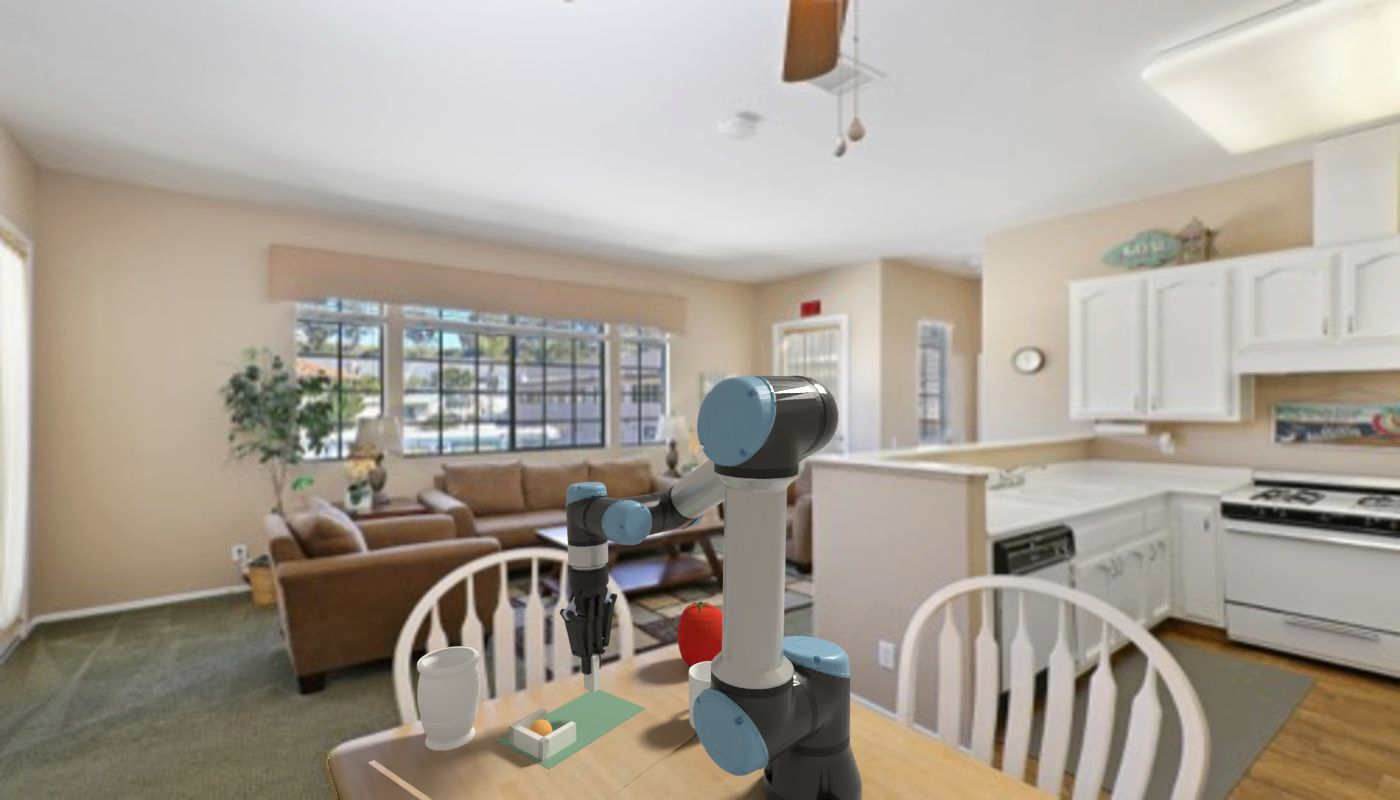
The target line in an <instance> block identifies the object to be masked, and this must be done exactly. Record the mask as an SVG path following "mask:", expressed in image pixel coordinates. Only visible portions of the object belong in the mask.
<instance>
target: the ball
mask: <svg viewBox="0 0 1400 800" xmlns="http://www.w3.org/2000/svg"><path fill="white" fill-rule="evenodd" d="M529 730H531V731H533V732H535V733H537V734H539V735H541V736H543V737H545V736H546V735H548V734H550V733H552V727H551V725H550V723H549V722H548V721H546V720H542V719H541V720H537V721H535V722H534V723H533V724H532V725H531V727H530V729H529Z"/></svg>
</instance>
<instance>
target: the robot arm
mask: <svg viewBox="0 0 1400 800" xmlns="http://www.w3.org/2000/svg"><path fill="white" fill-rule="evenodd" d="M696 421H697V422H696V423H697V424H696V431H697V432H696V434H697V439H698V443H699V445H700V446H702V447H703V448H702V453H704V455H705V456H706V458H708V460H706V461H705V462H704V463H702V464H701V465H700V466H698V467H697V468H695V469H694V470H692V471H690V472H689V473H688V474H687V475H685V476H684V477H682V478H681V479H680V480H678V481H677V482H676V483H675V484H673V485H672V486H670V487H669V488H667V489H665V490H662V491H659V492H652V493H648V494H641V495H635V496H628V497H627V496H626V497H620V498H619V497H618V498H617V497H609V496H608V492H607V487H606V485H605V483H602V482H599V481H586V482H585V481H584V482H576V483H572V484H570V485H568V487H567V488H566V502H565V512H566V513H565V514H566V515H565V517H566V532H567V533H566V537H567V563H568V565H570V566H569V568H568V569H567V570H568V572H567V573H568V574H567V575H568V586H569V587H570V591H571V594H570V598H569V604H568V605H567V606H566V607H565V608H561V609H560V610H559V615H560V616H561V618H562V619H563V622H564V624H565V628H566V632H567V633H566V634H567V637H568V642H569V646H570V650H571V655H573V656H576V657H577V658H580V661H581V662H580V663H581V664H580V665H581V673H582V674H583V689H585V690H588V691H593V692H595V691H597V690H601V680H600V677H601V676H600V670H601V668H602V655H604V654H605V653H606V649H604V648H605V647H606V648H607V647H608V646H609V645H610V639H611V631H612V624H613V616H614V611H615V610H614V609H615V604H616V602H617V599H618V594H617V593H613V592H610V591H609V589H608V586H607V585H608V584H609V581H610V578H609V577H610V576H609V574H610V573H609V571H610V570H609V565H608V564H607V563H608V562H609V544H608V541H610V542H612V543H615V544H618V545H623V546H624V545H627V546H634V545H635V546H636V545H638V544H641V543H642V542H643V541H644V540H645V539H646V538H648V536H654V535H657V534H660V533H666V532H667V533H668V532H672V531H676V530H685V529H688V528H690V527H693V526H696V525H698V524H700V523H701V522H702V519H703V517H704V516H705V513H707V512H709V511H710V510H712V509H714V508H715V507H716V506H719V505H720V504H721V503H723V502H724V507H723V509H724V511H723V513H724V514H723V564H722V565H723V568H722V569H723V571H722V573H723V577H722V582H723V583H722V613H723V622H722V651H721V652H720V653H719V654H718V655H717V656H715V657H714V659H713V660H712V663H711V685H710V688H709V689H704V690H703V691H702V692H701V694H700V695H699V696H698V697H697V698H696V699H695V702H694V705H693V720H694V725H695V729H696V730H695V729H694V730H695V732H696V735H697V738H698V739H699V742H700V744H701V746H702V747H703V748H704V750H705V752H706V753H707V755H708V756H709V758H710V760H712V761H713V762H714V763H715V765H716V766H718V767H719V768H720V769H721V770H722V771H724V772H726V773H728V774H729V775H733V776H737V777H742V776H743V777H744V776H747V775H749V774H752V773H753V772H756V771H758V770H762V769H763V775H762V776H763V778H762V780H763V783H762V785H763V787H762V788H763V792H764V795H765V797H766V799H767V800H862V798H863V797H862V796H863V795H862V794H863V791H862V790H863V784H862V783H863V782H862V777H861V773H860V772H859V767H858V765H857V762H856V758H855V755H854V753H853V749H852V745H851V679H852V674H851V669H850V666H851V665H850V658H849V657H850V656H849V655H848V654H847V652H846V651H845V649H844V648H842V647H841V646H839V645H838V644H836V643H833V642H832V641H829V640H826V639H822V638H817V637H812V636H805V635H790V636H784V635H785V634H784V632H785V629H784V628H785V597H786V596H785V590H786V589H785V588H786V551H787V550H786V547H787V544H786V543H787V541H786V540H787V505H788V504H787V501H788V488H789V486H790V485H791V484H792V483H793V482H794V481H795V480H796V479H797V478H798V477H799V472H800V471H799V466H800V463H801V462H802V461H804V460H805V459H806V458H808V457H810V456H812V455H813V454H816V453H817V452H819V451H820V450H822V449H823V448H825V447H826V446H827V445H828V444H829V443H830V442H831V441H832V439H833V438H834V436H835V433H836V431H837V429H838V424H839V409H838V403H837V402H836V400H835V398H834V396H833V394H832V393H831V391H830V390H829V389H828V388H827V387H826V385H824V384H822V383H821V382H820V381H818V380H816V379H814V378H812V377H808V376H804V375H755V374H750V375H749V374H748V375H742V376H734V377H729V378H726V379H723V380H721V381H719V382H718V383H716V384H715V385H714V386H713V387H712V389H711V390H710V391H709V392H707V394H706V395H705V396H704V399H702V403H701V405H700V407H699V411H698V415H697V420H696Z"/></svg>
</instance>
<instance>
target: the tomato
mask: <svg viewBox="0 0 1400 800" xmlns="http://www.w3.org/2000/svg"><path fill="white" fill-rule="evenodd" d="M722 622H723V611H721V610H720V609H719V608H718V607H717V606H715V605H713V604H711V603H709V601H706V602H703V601H699V602H691V604H689V605H687V606H686V607H685V609H684V610H683V611H682V612H681V615H680V619H679V622H678V625H677V632H676V633H677V644H678V645H677V646H678V650H679V652H680V656H681V658H682V660H683V662H684V663H685V665H687V666H688V667H689V668H691V667H692V666H693V665H695V664H697V663H700V662H706V661H712V660H713V659H714V657H715V656H717V655H718V654H719V653H720V652H721V651H722Z"/></svg>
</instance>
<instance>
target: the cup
mask: <svg viewBox="0 0 1400 800" xmlns="http://www.w3.org/2000/svg"><path fill="white" fill-rule="evenodd" d="M711 663H712V661H706V662H700V663H697V664H695V665H693V666H692V667H689V669H688V716H689V717H688V719H689V720H688V721H689V724H690V727H692V728H693V729H694V730H695V731H696V729H695V725H694V720H693V705H694V702H695V699H696V698H697V697H698V696H699V695H700V694H701V692H702V691H703V690H704V689H709V688H710V685H711Z"/></svg>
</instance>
